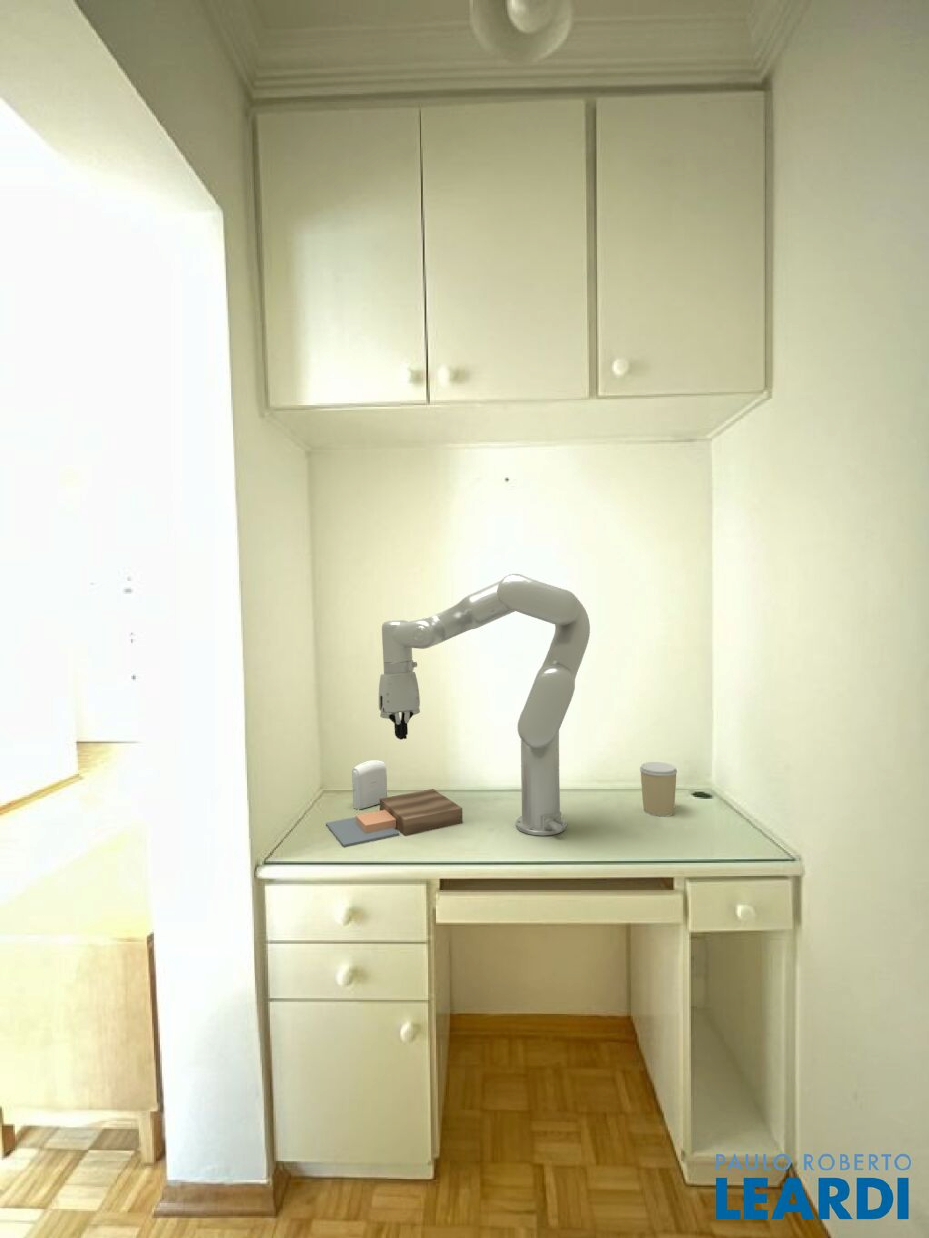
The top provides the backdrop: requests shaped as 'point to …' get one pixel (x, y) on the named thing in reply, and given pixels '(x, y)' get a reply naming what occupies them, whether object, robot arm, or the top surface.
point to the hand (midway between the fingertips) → (401, 738)
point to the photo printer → (369, 783)
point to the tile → (375, 821)
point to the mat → (356, 832)
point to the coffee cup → (658, 788)
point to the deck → (422, 811)
